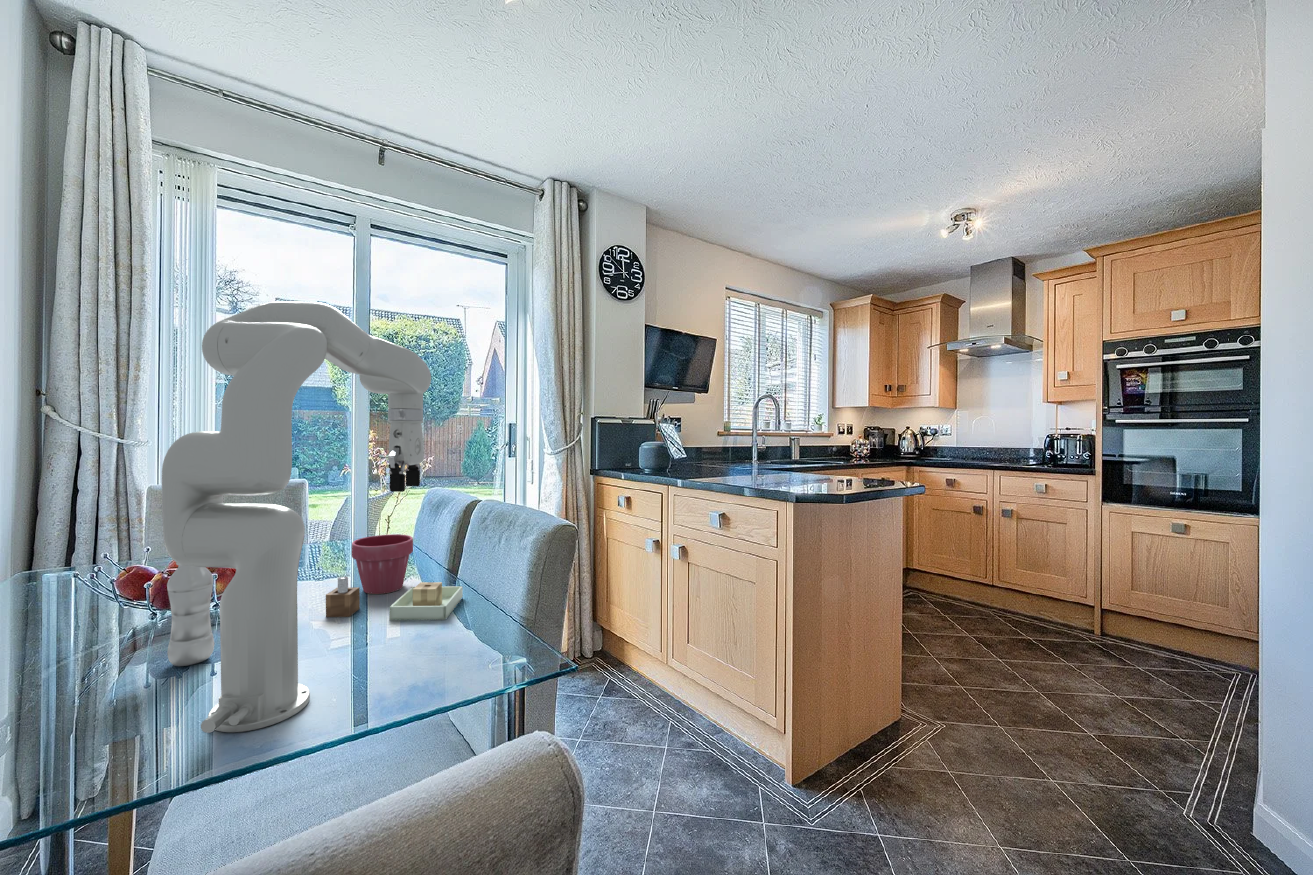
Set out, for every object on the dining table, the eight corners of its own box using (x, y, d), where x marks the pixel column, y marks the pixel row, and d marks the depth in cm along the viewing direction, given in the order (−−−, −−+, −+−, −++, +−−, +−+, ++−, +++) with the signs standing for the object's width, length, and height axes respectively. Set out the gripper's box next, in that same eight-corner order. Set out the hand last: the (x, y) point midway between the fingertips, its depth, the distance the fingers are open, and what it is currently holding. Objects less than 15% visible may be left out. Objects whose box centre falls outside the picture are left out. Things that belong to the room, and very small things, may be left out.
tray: (445, 619, 121) (445, 606, 121) (389, 620, 120) (389, 606, 120) (462, 598, 135) (462, 586, 135) (412, 598, 134) (412, 586, 134)
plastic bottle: (158, 672, 95) (156, 558, 94) (181, 655, 101) (179, 548, 100) (202, 668, 96) (201, 556, 96) (222, 652, 103) (220, 547, 102)
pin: (345, 614, 123) (344, 579, 123) (336, 614, 123) (335, 579, 123) (349, 611, 125) (349, 576, 125) (340, 611, 125) (340, 576, 125)
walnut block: (349, 616, 122) (349, 594, 121) (325, 616, 121) (325, 594, 121) (359, 608, 127) (359, 587, 126) (337, 608, 126) (336, 587, 126)
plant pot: (363, 581, 147) (363, 533, 146) (418, 579, 149) (419, 532, 149) (342, 599, 133) (342, 546, 132) (404, 596, 135) (404, 545, 135)
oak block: (435, 610, 125) (435, 589, 125) (412, 610, 125) (412, 589, 124) (442, 603, 130) (442, 582, 130) (420, 603, 130) (420, 582, 129)
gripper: (408, 417, 121) (408, 493, 122) (433, 417, 139) (433, 484, 139) (373, 416, 121) (373, 493, 121) (403, 416, 138) (402, 484, 139)
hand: (405, 488), depth 130 cm, fingers open, 9 cm apart
